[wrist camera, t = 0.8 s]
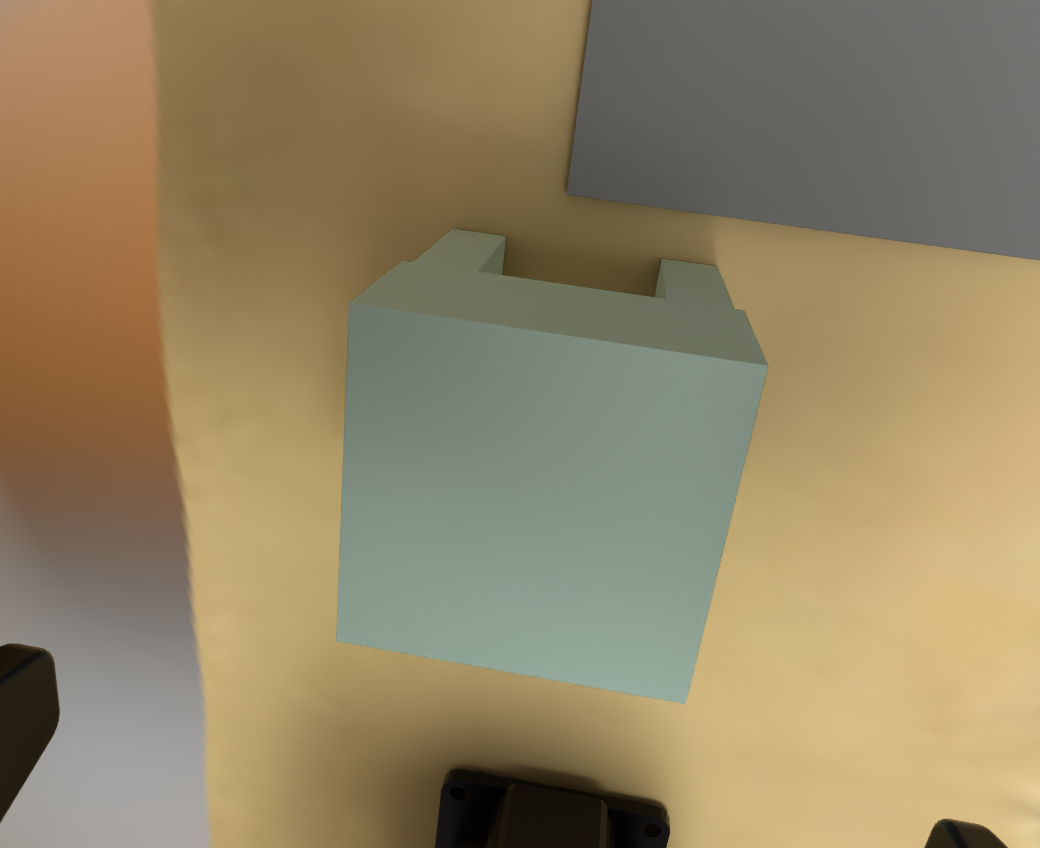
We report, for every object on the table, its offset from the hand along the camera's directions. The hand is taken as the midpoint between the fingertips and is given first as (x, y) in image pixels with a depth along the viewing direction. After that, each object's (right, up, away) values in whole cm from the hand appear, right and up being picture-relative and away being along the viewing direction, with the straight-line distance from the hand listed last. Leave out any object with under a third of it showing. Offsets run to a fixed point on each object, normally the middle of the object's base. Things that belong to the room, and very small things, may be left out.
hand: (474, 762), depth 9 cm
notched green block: (+2, +5, +11) cm, 12 cm away
